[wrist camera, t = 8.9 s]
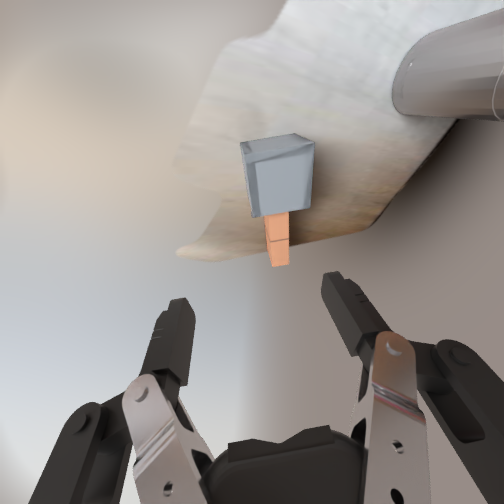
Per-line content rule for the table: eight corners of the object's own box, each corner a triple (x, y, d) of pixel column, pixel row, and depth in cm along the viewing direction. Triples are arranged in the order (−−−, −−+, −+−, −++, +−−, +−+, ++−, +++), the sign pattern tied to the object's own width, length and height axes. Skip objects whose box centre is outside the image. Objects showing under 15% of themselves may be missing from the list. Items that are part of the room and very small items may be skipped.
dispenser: (295, 133, 31) (316, 142, 24) (294, 190, 37) (311, 211, 30) (238, 142, 31) (243, 154, 24) (247, 198, 37) (252, 221, 30)
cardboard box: (280, 184, 36) (288, 197, 31) (282, 247, 45) (289, 264, 40) (261, 188, 36) (266, 201, 31) (267, 249, 45) (272, 267, 40)
